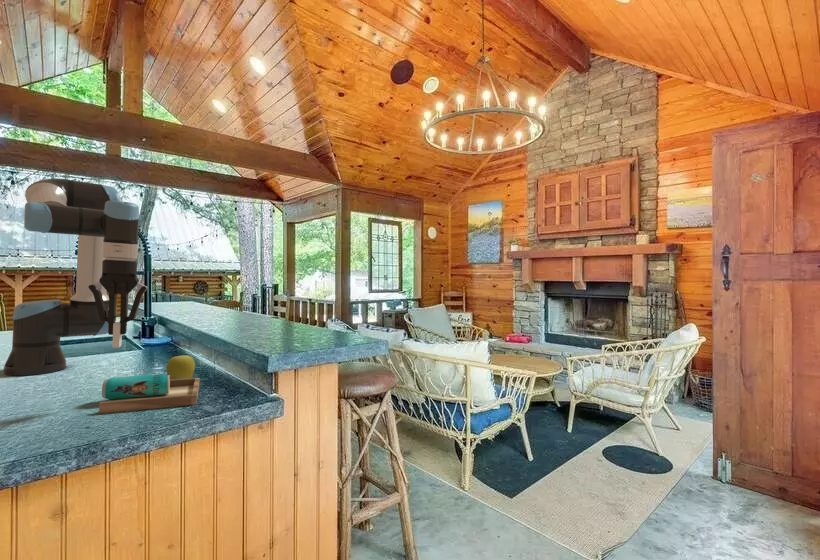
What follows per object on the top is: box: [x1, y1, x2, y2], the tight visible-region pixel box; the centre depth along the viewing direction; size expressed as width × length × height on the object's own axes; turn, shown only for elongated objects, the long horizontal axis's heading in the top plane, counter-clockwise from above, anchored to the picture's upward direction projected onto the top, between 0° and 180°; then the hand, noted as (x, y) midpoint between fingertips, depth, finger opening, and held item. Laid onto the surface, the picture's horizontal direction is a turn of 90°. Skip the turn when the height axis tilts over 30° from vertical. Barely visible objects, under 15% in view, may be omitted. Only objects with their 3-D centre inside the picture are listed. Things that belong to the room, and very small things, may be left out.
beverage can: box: [101, 373, 170, 400], centre depth 108 cm, size 6×6×15 cm
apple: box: [166, 351, 196, 380], centre depth 127 cm, size 8×8×10 cm
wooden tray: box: [98, 377, 201, 414], centre depth 110 cm, size 18×21×2 cm
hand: (116, 346), depth 106 cm, fingers closed
